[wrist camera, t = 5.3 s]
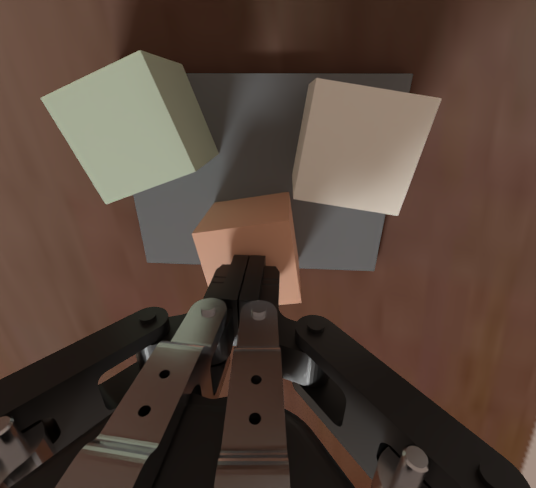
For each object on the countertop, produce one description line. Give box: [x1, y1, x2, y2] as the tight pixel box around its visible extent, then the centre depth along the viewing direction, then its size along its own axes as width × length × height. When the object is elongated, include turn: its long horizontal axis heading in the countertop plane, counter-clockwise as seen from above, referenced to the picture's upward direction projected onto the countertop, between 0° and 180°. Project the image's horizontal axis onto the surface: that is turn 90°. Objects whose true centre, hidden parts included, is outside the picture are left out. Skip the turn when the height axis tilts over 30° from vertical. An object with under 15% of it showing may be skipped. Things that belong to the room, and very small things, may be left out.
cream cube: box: [292, 78, 442, 216], centre depth 13 cm, size 4×4×4 cm
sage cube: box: [41, 50, 219, 204], centre depth 14 cm, size 4×4×4 cm
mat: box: [133, 73, 413, 271], centre depth 17 cm, size 11×15×1 cm
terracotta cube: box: [192, 192, 301, 305], centre depth 16 cm, size 4×4×4 cm
